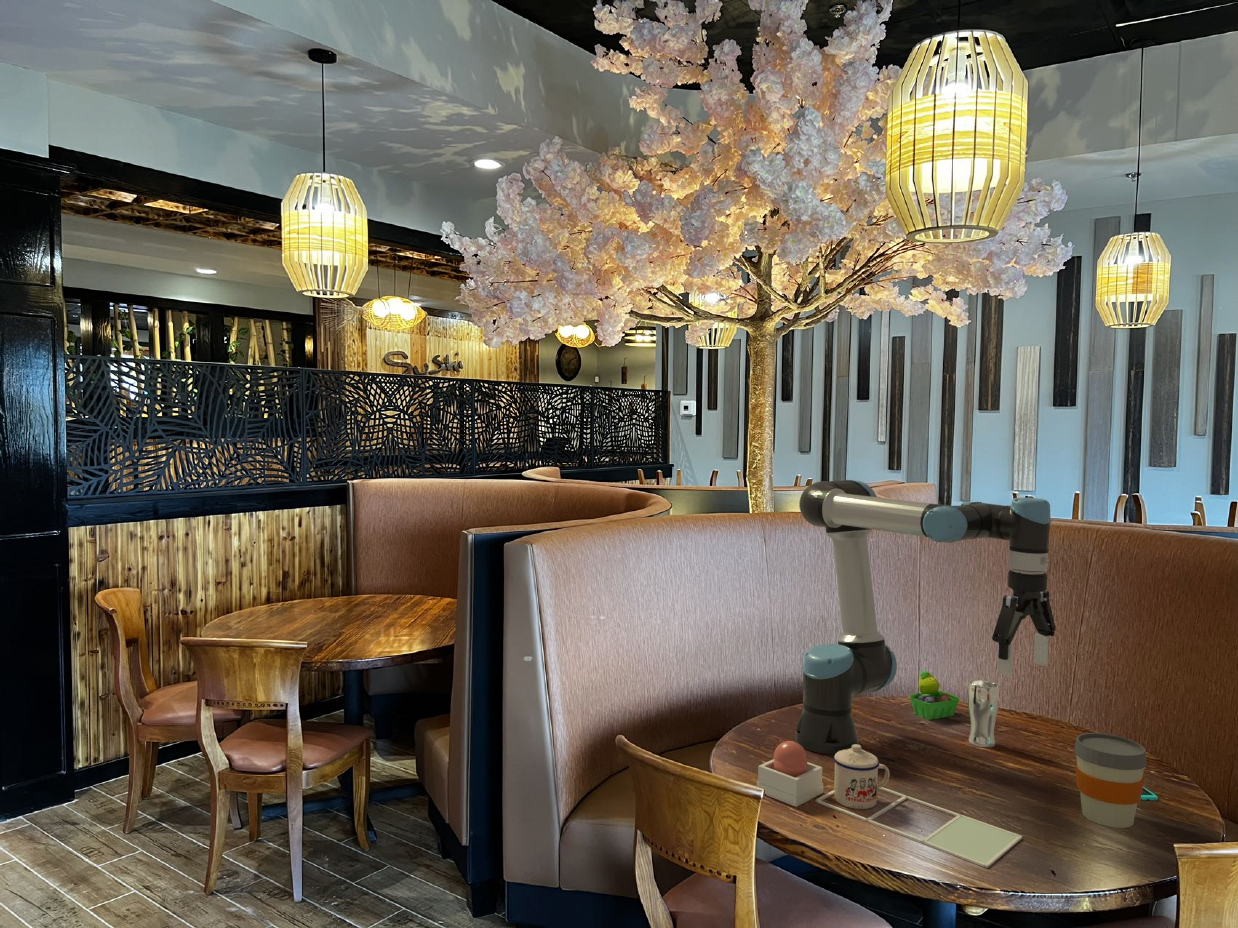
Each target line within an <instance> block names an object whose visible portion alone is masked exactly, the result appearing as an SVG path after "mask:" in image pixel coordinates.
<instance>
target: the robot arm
mask: <svg viewBox="0 0 1238 928" xmlns="http://www.w3.org/2000/svg"><path fill="white" fill-rule="evenodd" d="M798 502H799V505H798V506H799V511H800V514H801V516H802V518H803V519H804V520H805V521H806V522H807V523H808V524H810V525H812V526H815V527H819V528H825V534H826V536H828V537H829V538H830V539H831V541H832V543H833V554H834V561H835V562H834V563H835V564H834V565H835V572H836V581H837V591H838V599H839V600H838V601H839V610H840V618H841V628H842V634H841V635H840V636H839V637H838V638H837V643H829V644H823V643H822V644H819V645H815V646H813V647H811V648H809V649H808V650H807V651H806V653H805V655H804V660H803V662H804V663H803V666H802V669H803V671H802V672H803V683H802V685H803V687H802V689H803V693H802V696H803V697H802V699H803V700H802V703H803V704H802V706H803V707H802V712H801V715H800V718H799V721H798V723H797V725H796V728H795V734H794V742H796V743H798V744H800V745H801V746H802V747H803V748H804V750H808V751H811V752H813V753H818V754H825V755H835V754H836V753H837V752H839V751H841V750H847V749H850V748H852V745H854V744H857V745H859V734H858V732H857V728H856V725H855V722H854V718H853V714H852V711H853V707H852V705H853V697H855V696H856V697H857V696H860V695H863V694H867V693H871V692H872V693H874V692H878V691H880V690H881V689H883V688H886V687H888V686H889V685H890V684H891V683H892V682H893V681H894V679H895V677H896V675H897V669H898V668H897V667H898V666H897V665H898V663H897V658H896V655H895V653H894V651H892V650H891V647H890V646H889V645H887V643H886V642H885V636H884V635H882V634H881V633H880V632H879V631H878V625H877V615H876V608H875V598H874V590H873V581H872V573H871V572H872V571H871V562H870V553H869V544H868V536H869V535H870V534H871V533H872V531H873V530H875V531H882V532H889V533H896V534H903V535H911V536H916V537H924V538H928V539H931V540H932V541H934V542H937V543H947V544H950V543H951V544H952V543H954V542H959V541H966V540H975V539H976V540H978V539H985V538H986V539H995V540H1002V541H1003V540H1004V541H1008V543H1009V553H1008V565H1007V566H1008V568H1009V570H1008V573H1007V575H1008V576H1007V587H1008V588H1009V589H1012V595H1011V596H1010V595H1005V594H1004V595H1003V596H1002V597H1003V598H1002V606H1001V609H1000V612H999V615H998V618H997V621H996V624H995V628H994V630H993V633H992V636H991V640H992V641H993V642H995V643H998V655H997V656H998V659H997V660H998V661H997V673H998V674H1002V675H1005V676H1008V677H1012V676H1013V659H1014V644H1012V642H1013V640H1014V637H1015V636H1016V633H1017V631H1018V629H1019V626H1020V625H1021V623H1022V621H1023V620H1024V619H1026V617H1027V616H1029V617H1030V619H1031V621H1032V623H1033V625H1034V627H1035V630H1036V632H1037V633H1034V644H1033V645H1034V647H1033V661H1032V662H1033V663H1032V664H1036V665H1039V666H1043V667H1048V661H1049V660H1048V659H1049V658H1048V657H1049V640H1050V639H1049V638H1050V637H1054V636H1055V631H1056V630H1057V628H1056V624H1055V619H1054V615H1053V610H1052V607H1051V602H1050V591H1048V590H1047V588H1048V574H1047V573H1046V572H1047V571H1048V567H1049V564H1048V563H1049V562H1050V559H1049V545H1050V544H1049V543H1050V532H1051V531H1050V530H1051V529H1050V528H1051V523H1052V519H1051V504H1050V502H1049V501H1048V500H1046V499H1044V498H1043V499H1042V498H1036V497H1014V498H1012V500H1011V504H1010V505H1002V504H995V503H994V504H993V503H985V502H981V501H965V502H963V503H961V504H960V505H948V504H940V503H939V504H937V503H932V502H931V503H930V502H929V503H928V502H920V501H912V500H904V499H895V498H886V497H885V498H884V497H877V494H876V492H875V491H874V490H873V488H872V487H871V486H869V484H867V483H866V482H864V481H861V480H855V479H854V480H852V479H844V480H831V481H830V480H829V481H825V480H823V481H822V480H821V481H817V482H814V483H811V484H810V485H808V486H807V487H806V488H804V490H803V491H802V493H801V495H800V498H799V501H798Z"/></svg>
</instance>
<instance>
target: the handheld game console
mask: <svg viewBox="0 0 1238 928" xmlns="http://www.w3.org/2000/svg"><path fill="white" fill-rule="evenodd" d="M1158 797H1159V796H1157V795H1156V794H1154V792H1152V791H1150V790H1149V789H1148V788H1146V787H1145V786H1143V789H1142V795H1141V799H1142V800H1141V801H1147V800H1149V801H1158V800H1159V799H1158ZM1154 799H1156V800H1154ZM1157 799H1158V800H1157Z"/></svg>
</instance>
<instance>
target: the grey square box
mask: <svg viewBox="0 0 1238 928" xmlns="http://www.w3.org/2000/svg"><path fill="white" fill-rule="evenodd" d="M757 768H758V769H757V770H758V771H757V781H756V788H757V787H759V788H763V789H764V790H765V794H766V796H767V797H770V798H773V799H775V800H778V801H779V802H782V803H785V804H788V805H789V806H792V807H795V808H798V806H801V805H803V804H805V803H807V802H808V801H810V800H812V799H815V798H816V797H817V796H820V795H821V794H823V793H824V782H823V766H820V765H817V764H814V763H811V762H808V761H807V772H806V773H804V774H802V775H800V776H798V777H796V778H795V777H792V776H789V775H787V774H784V773H781V772H779V771H776V770H774V758H772V759H771V760H769V761H766V762H763V763H762V764H760V765H758V767H757ZM765 794H764V795H765Z"/></svg>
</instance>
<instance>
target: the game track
mask: <svg viewBox="0 0 1238 928" xmlns="http://www.w3.org/2000/svg"><path fill="white" fill-rule="evenodd" d="M877 790H880V791H883V792H885V793H889V794H892V795H895V796H898V797H900V798H899V799H897V800H895V801H894V802H891V803H890V804H889V805H887V806H885V807H884V808H882V809H881V810H879V811H877V812H875V813H874V814H872V815H870V816H869V817H867V818H866V817H864V816H861V815H860V814H859V815H858V814H856V813H854V812H851V811H849V810H846V809H843V808H840V807H837V806H836V805H834V804H830V803H828V802H825V801H823V800H826V799H827V798H829V797H831V796H834V789H833V790H831V791H829V792H827V793H826V794H823V795H821V796H820V797H818V798H816V799H815V800H814V802H815V803H817V804H820V805H822V806H825V807H827V808H830V809H832V810H835V811H837V812H840V813H842V814H845V815H848V816H851V817H853V818H855V819H858V820H862V821H863V822H866V823H868V824H871V825H874V826H876V827H879V828H881V829H885V830H887V831H889V832H891V833H894V834H897V835H900V836H902V837H905V838H907V839H910V840H912V841H915V842H917V843H921V844H923V845H926V846H928V847H931V848H933V849H936V850H939V851H941V852H943V853H946V854H948V855H952V856H954V857H956V858H958V859H961V860H964V861H967V862H970V863H972V864H974V865H978V866H980V867H982V868H984V869H985V868H986V869H988V868H989V867H991V866H992V865H993V864H994V863H995V862H997V860H998V859H1000V858H1002V856H1004V854H1006V853H1007V852H1008V851H1009V850H1011V848H1012V847H1014V846H1015V845H1016V844H1017V843H1018V842H1019V841H1021V840H1022V839H1023V835H1020V834H1018V833H1015V832H1013V831H1009V830H1007V829H1004V828H1001V827H998V826H995V825H992V824H990V823H986V822H983V821H982V820H981V821H980V820H978V819H975V818H973V817H969V816H966V815H963V814H960V813H958V812H954V811H952V810H949V809H946V808H942V807H941V806H937V805H934V804H932V803H930V802H929V803H928V802H926V801H922V800H920V799H917V798H914V797H912V796H908V795H905V794H904V793H901V792H897V791H895V790H892V789H889V788H885V787H884V786H883V787H882V788H878V789H877ZM905 800H909V801H912V802H915V803H918V804H920V805H923V806H926V807H929V808H932V809H934V810H937V811H940V812H943V813H945V814H948V815H951V816H954V817H953V818H952V819H950V820H948V821H947V822H946V823H944V825H941V826H940V827H939V828H938V829H936V830H935V831H934V832H932V833H930V834H929V835H928V836H926V837H925V838H923V839H922V838H919V837H916V836H914V835H911V834H908V833H907V832H903V831H900V830H898V829H896V828H893V827H890V826H888V825H885V824H883V823H880V822H877V821H875V820H874V819H876V818H878V817H879V816H881V815H883V814H884V813H886V812H887V811H889V810H890V809H893V808H894V807H896V806H897V805H898V804H901V803H902V802H904V801H905Z"/></svg>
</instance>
